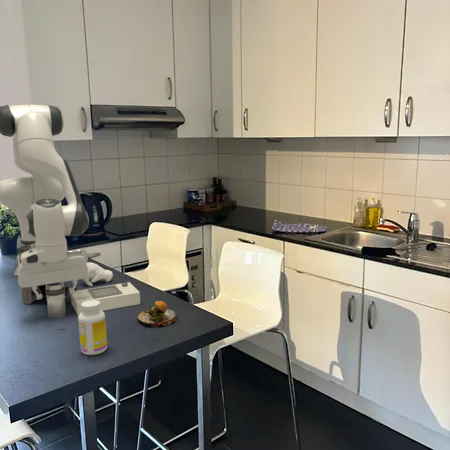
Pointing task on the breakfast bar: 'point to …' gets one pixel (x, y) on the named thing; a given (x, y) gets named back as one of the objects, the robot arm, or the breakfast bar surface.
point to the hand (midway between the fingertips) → (55, 296)
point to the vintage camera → (29, 294)
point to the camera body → (107, 296)
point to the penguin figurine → (97, 273)
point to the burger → (158, 315)
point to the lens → (56, 299)
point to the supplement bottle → (92, 328)
